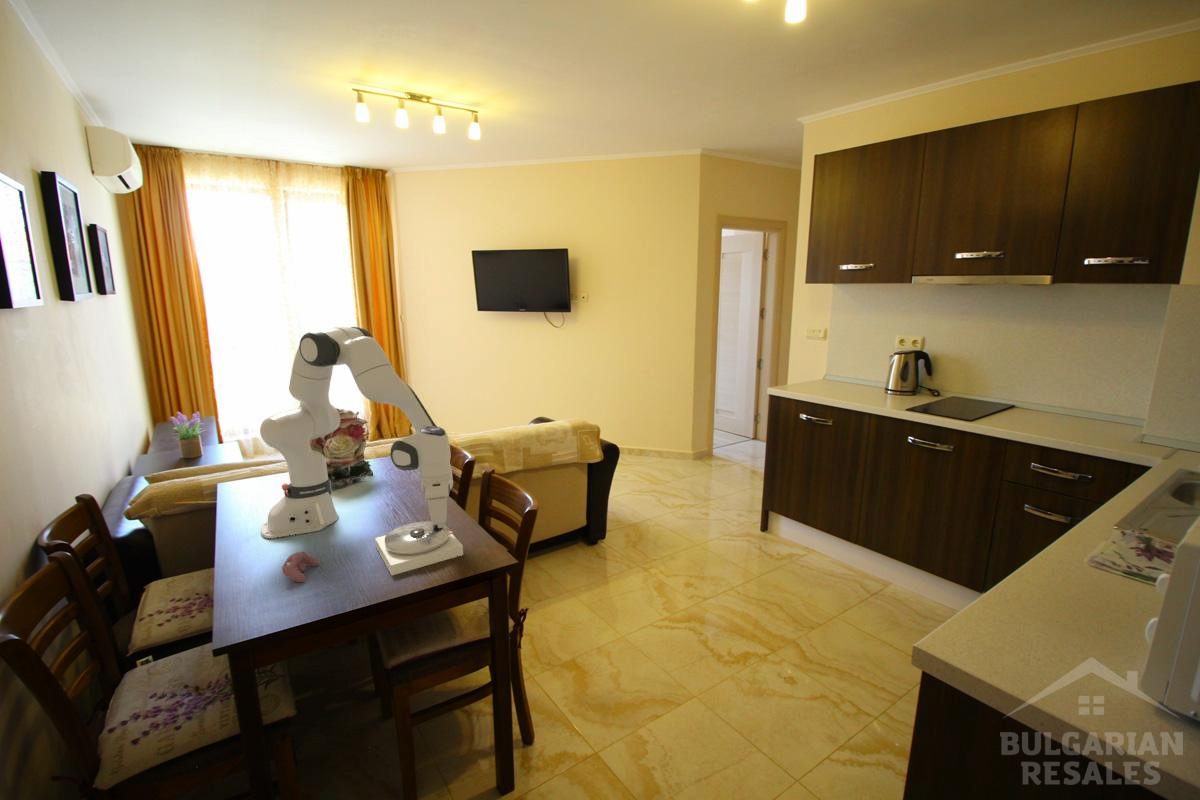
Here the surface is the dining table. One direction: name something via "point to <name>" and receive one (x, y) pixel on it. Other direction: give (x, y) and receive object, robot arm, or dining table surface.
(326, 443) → the rose bouquet
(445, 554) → the wheel base
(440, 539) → the handwheel
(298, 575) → the pink curved piece
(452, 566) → the dining table surface
